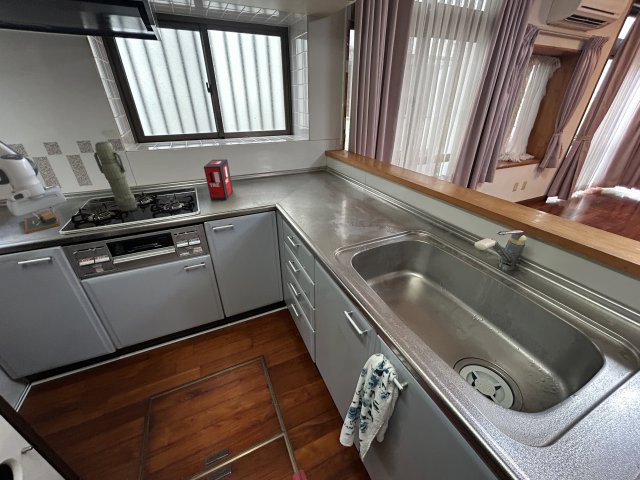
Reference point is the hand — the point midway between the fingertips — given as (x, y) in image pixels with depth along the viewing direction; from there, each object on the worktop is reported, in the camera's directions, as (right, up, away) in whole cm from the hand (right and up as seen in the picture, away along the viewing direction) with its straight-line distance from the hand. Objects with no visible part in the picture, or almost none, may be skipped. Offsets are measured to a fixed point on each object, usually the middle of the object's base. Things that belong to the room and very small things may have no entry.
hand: (46, 217), depth 132 cm
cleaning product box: (+75, +16, +33) cm, 84 cm away
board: (-3, -3, +1) cm, 4 cm away
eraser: (0, -1, +1) cm, 2 cm away
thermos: (+28, +6, +17) cm, 34 cm away
